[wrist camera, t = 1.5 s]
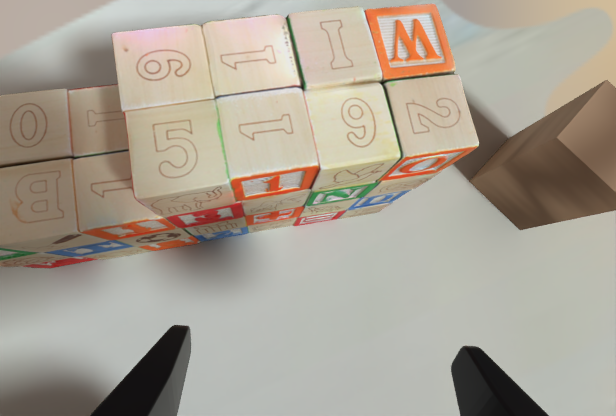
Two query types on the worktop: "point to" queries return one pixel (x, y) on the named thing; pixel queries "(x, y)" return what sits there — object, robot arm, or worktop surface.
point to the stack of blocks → (231, 133)
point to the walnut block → (557, 164)
